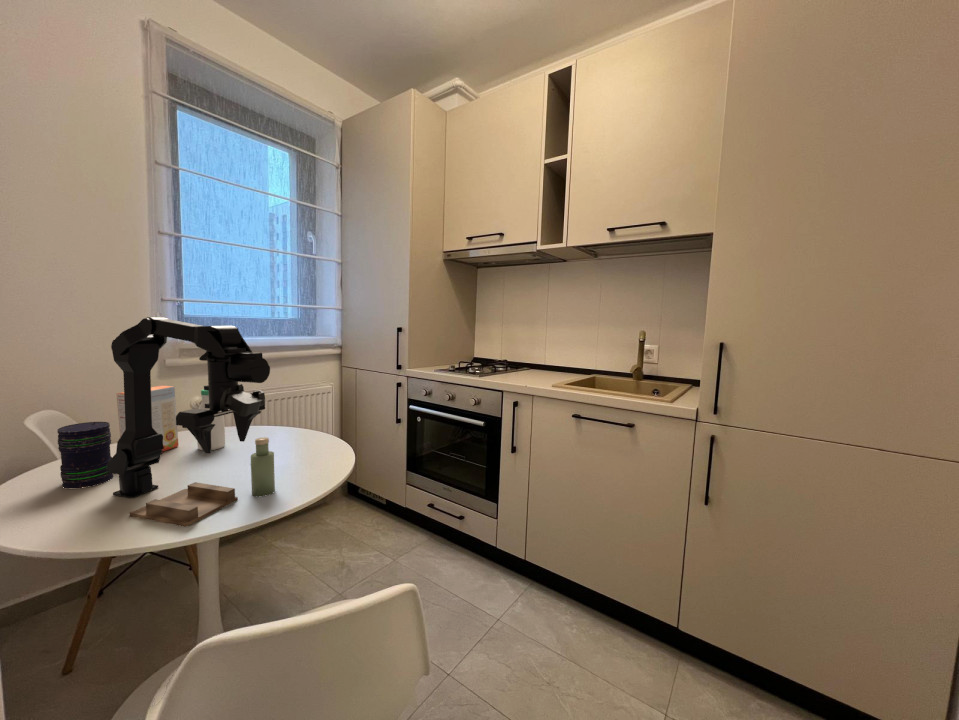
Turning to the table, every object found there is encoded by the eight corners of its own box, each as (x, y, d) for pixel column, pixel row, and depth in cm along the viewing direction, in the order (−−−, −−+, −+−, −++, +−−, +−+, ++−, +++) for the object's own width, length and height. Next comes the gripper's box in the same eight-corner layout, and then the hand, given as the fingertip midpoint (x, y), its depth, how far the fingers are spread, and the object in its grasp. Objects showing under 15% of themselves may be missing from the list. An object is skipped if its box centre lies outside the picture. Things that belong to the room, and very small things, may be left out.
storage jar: (91, 489, 99) (86, 432, 98) (49, 489, 98) (44, 431, 97) (123, 473, 109) (120, 421, 107) (86, 473, 108) (82, 421, 107)
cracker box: (164, 445, 133) (161, 384, 131) (179, 446, 132) (176, 385, 130) (119, 459, 119) (115, 392, 117) (136, 461, 118) (131, 393, 116)
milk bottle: (220, 442, 138) (218, 386, 136) (228, 447, 133) (226, 389, 131) (194, 447, 132) (191, 389, 130) (202, 452, 127) (199, 392, 125)
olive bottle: (246, 495, 98) (245, 441, 97) (262, 486, 103) (261, 435, 102) (264, 497, 97) (262, 443, 96) (279, 489, 102) (278, 437, 101)
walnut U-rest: (129, 516, 87) (128, 502, 86) (185, 491, 99) (185, 479, 99) (186, 527, 83) (185, 512, 83) (237, 500, 96) (237, 487, 95)
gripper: (215, 389, 78) (218, 464, 80) (282, 377, 96) (284, 438, 98) (171, 386, 81) (175, 459, 82) (245, 374, 99) (247, 434, 100)
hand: (225, 447), depth 91 cm, fingers open, 9 cm apart
